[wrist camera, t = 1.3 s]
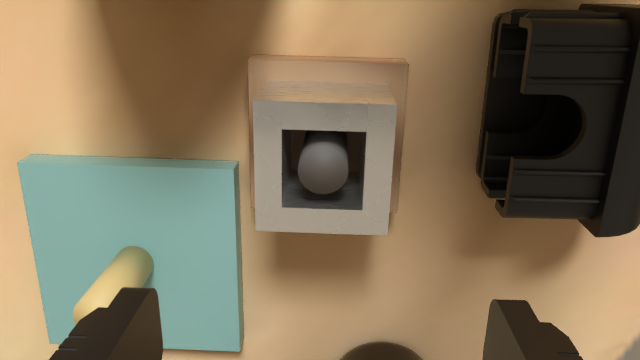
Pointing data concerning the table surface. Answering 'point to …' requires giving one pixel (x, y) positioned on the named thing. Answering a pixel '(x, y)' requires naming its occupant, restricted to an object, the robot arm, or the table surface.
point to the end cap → (564, 116)
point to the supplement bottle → (381, 352)
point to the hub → (138, 242)
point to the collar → (326, 115)
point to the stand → (330, 146)
